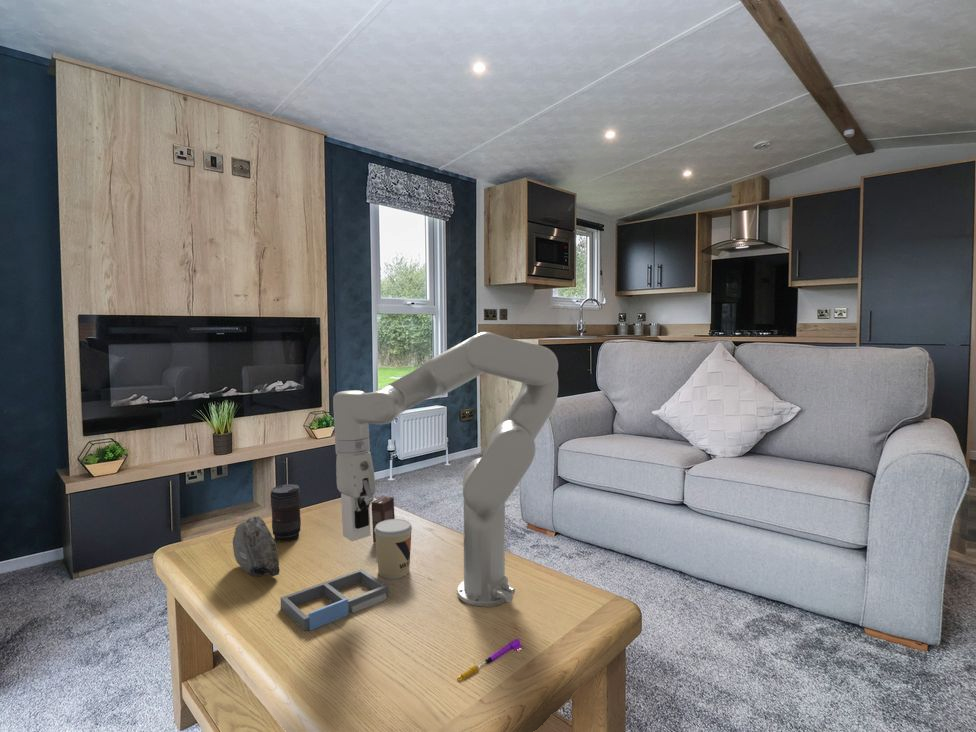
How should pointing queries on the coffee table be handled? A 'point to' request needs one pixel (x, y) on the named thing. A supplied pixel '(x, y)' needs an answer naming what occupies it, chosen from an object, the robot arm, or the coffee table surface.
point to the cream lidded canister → (393, 547)
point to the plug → (352, 519)
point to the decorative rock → (255, 548)
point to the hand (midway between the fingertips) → (356, 523)
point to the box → (382, 511)
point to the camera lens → (285, 512)
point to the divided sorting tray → (334, 599)
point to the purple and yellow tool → (491, 658)
